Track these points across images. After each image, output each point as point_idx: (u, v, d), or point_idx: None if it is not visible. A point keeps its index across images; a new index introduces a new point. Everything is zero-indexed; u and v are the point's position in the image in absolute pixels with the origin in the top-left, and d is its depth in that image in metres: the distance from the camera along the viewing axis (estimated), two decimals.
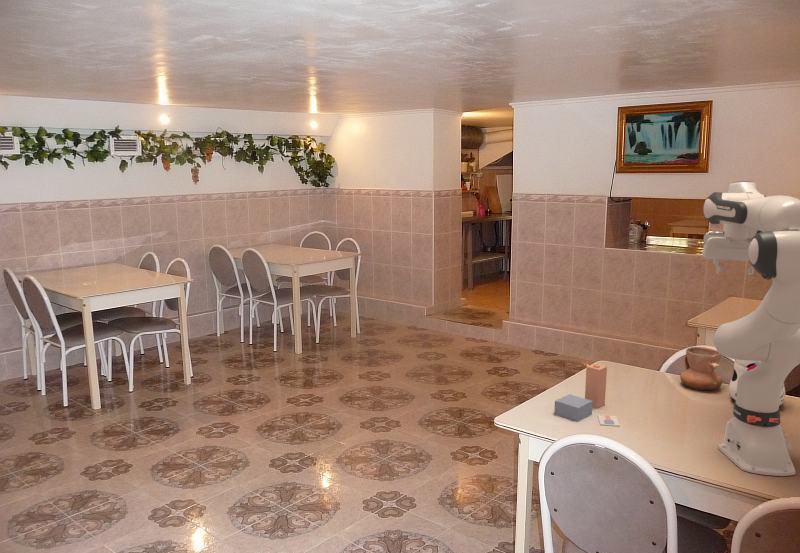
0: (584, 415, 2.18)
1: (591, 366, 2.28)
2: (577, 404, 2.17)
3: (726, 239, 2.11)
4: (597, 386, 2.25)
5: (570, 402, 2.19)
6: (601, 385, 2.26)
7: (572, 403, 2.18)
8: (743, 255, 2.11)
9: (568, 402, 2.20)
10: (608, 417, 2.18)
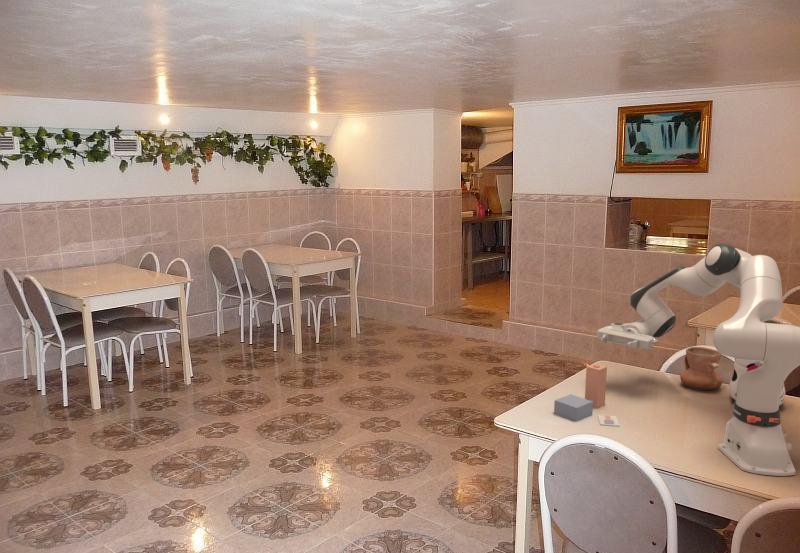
0: (584, 416, 2.18)
1: (591, 366, 2.28)
2: (577, 404, 2.17)
3: None
4: (597, 386, 2.25)
5: (570, 402, 2.19)
6: (601, 385, 2.26)
7: (571, 403, 2.18)
8: None
9: (567, 401, 2.20)
10: (608, 417, 2.18)
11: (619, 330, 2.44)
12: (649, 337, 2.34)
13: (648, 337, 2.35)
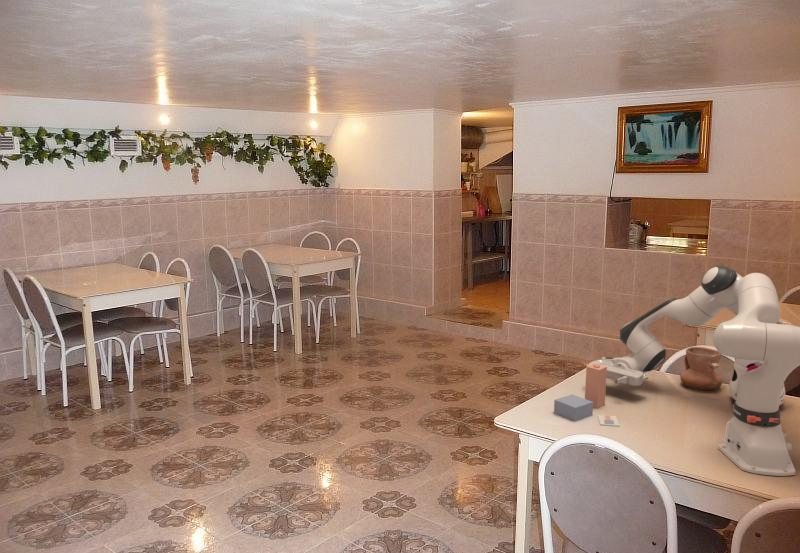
0: (583, 416, 2.18)
1: (591, 366, 2.28)
2: (576, 404, 2.17)
3: None
4: (597, 386, 2.25)
5: (569, 402, 2.20)
6: (601, 385, 2.26)
7: (570, 403, 2.18)
8: None
9: (567, 401, 2.20)
10: (608, 417, 2.18)
11: (609, 364, 2.43)
12: (639, 373, 2.33)
13: (638, 373, 2.34)
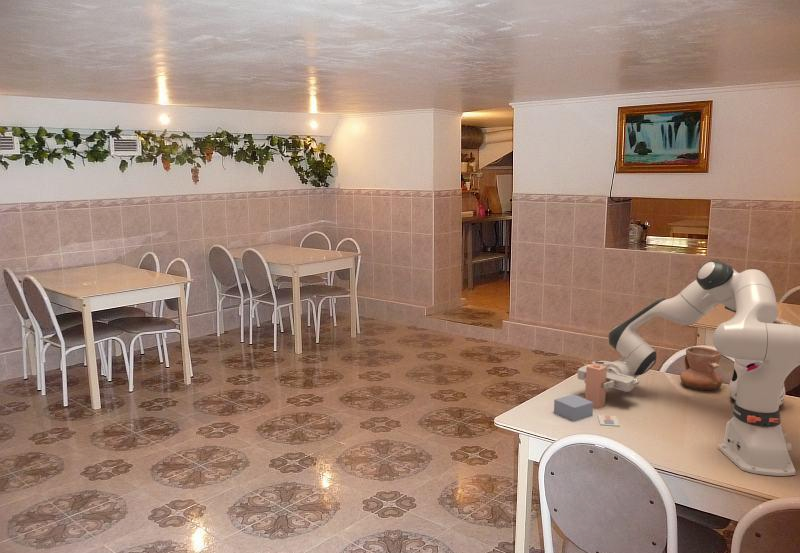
0: (583, 416, 2.18)
1: (591, 366, 2.28)
2: (576, 404, 2.17)
3: None
4: (597, 386, 2.25)
5: (569, 402, 2.20)
6: None
7: (570, 403, 2.18)
8: None
9: (567, 401, 2.20)
10: (608, 417, 2.18)
11: None
12: (630, 378, 2.28)
13: (629, 378, 2.28)
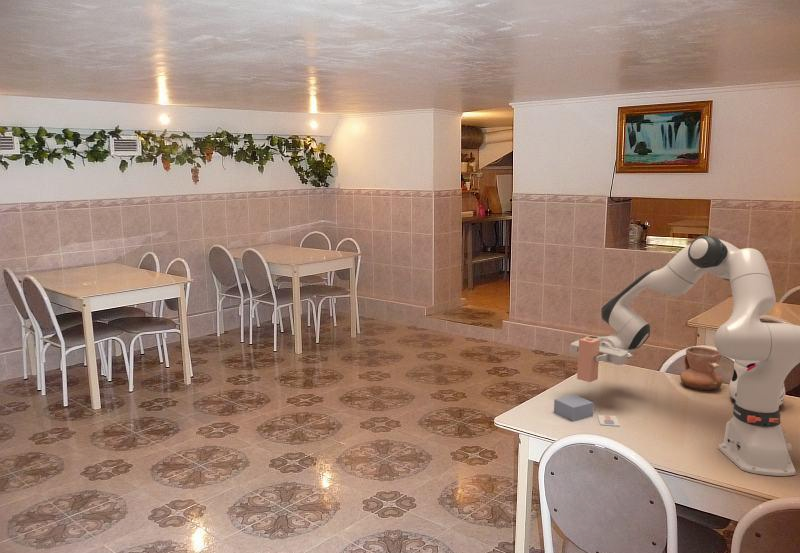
0: (582, 416, 2.18)
1: (584, 339, 2.23)
2: (575, 404, 2.17)
3: None
4: (590, 359, 2.21)
5: (569, 402, 2.20)
6: None
7: (569, 403, 2.19)
8: None
9: (567, 401, 2.20)
10: (608, 417, 2.18)
11: None
12: (623, 352, 2.23)
13: (623, 351, 2.24)
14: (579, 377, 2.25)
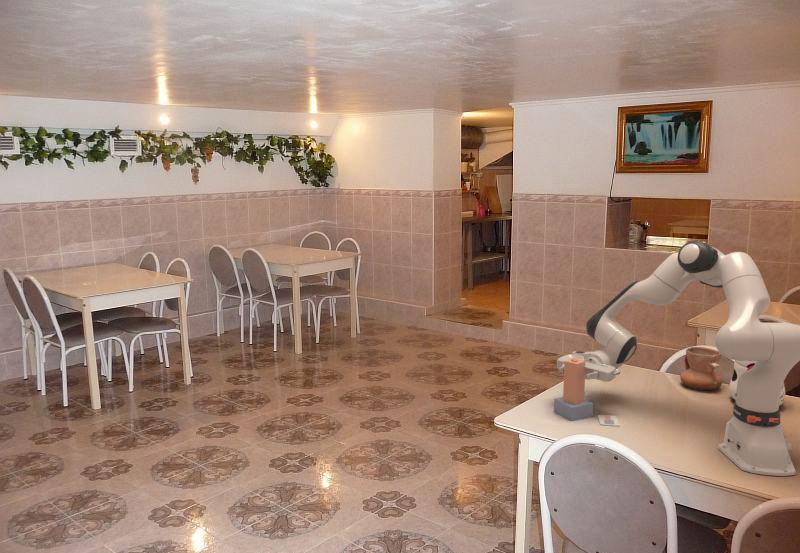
0: (581, 416, 2.18)
1: (569, 360, 2.19)
2: (574, 404, 2.18)
3: None
4: (575, 381, 2.16)
5: (568, 402, 2.20)
6: (580, 380, 2.18)
7: (569, 403, 2.19)
8: None
9: None
10: (608, 417, 2.18)
11: (580, 359, 2.28)
12: (611, 368, 2.18)
13: (610, 367, 2.19)
14: (565, 399, 2.20)
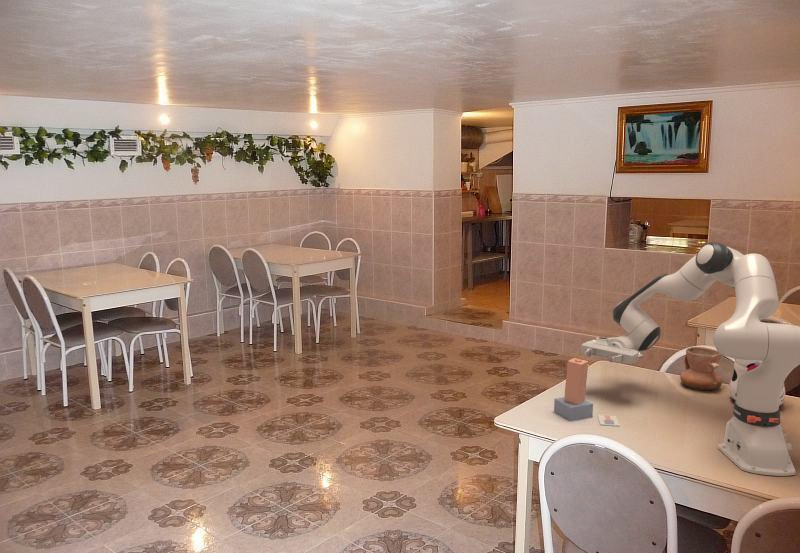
0: (581, 417, 2.17)
1: (572, 360, 2.18)
2: (573, 405, 2.17)
3: None
4: (578, 381, 2.16)
5: (568, 402, 2.20)
6: (582, 380, 2.17)
7: (568, 403, 2.19)
8: None
9: (566, 401, 2.20)
10: (608, 417, 2.18)
11: (604, 344, 2.38)
12: (634, 351, 2.28)
13: (633, 351, 2.29)
14: (566, 399, 2.20)
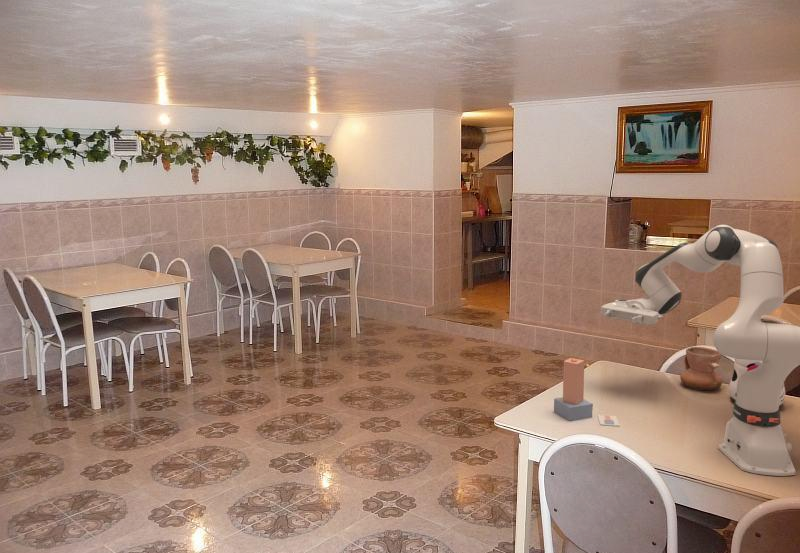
0: (580, 417, 2.17)
1: (568, 360, 2.19)
2: (573, 404, 2.17)
3: None
4: (575, 381, 2.16)
5: None
6: (579, 380, 2.18)
7: (568, 403, 2.19)
8: None
9: None
10: (608, 417, 2.18)
11: (623, 306, 2.40)
12: (654, 312, 2.30)
13: (653, 312, 2.31)
14: (565, 399, 2.20)
